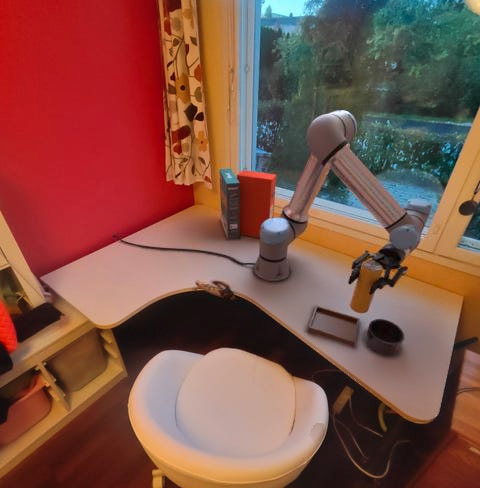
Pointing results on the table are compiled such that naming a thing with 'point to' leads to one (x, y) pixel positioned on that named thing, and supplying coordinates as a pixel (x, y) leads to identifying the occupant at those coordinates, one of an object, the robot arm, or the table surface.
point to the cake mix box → (229, 203)
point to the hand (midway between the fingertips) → (360, 285)
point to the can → (365, 286)
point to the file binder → (255, 201)
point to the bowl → (384, 337)
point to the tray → (334, 325)
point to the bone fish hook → (217, 289)
